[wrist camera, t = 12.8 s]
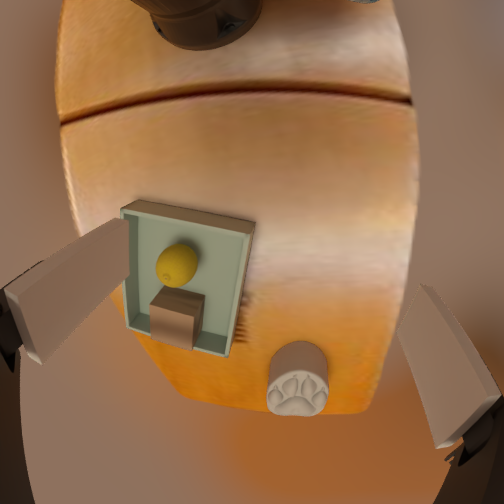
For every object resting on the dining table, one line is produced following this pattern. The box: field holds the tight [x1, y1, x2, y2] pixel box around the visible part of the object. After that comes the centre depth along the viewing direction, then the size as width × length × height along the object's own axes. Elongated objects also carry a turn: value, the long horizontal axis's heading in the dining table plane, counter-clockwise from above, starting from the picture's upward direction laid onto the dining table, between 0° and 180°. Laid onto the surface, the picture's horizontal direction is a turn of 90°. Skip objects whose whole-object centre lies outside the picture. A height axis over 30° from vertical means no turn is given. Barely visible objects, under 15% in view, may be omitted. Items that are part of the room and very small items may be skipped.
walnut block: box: [149, 285, 205, 351], centre depth 43 cm, size 7×7×6 cm
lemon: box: [155, 244, 198, 288], centre depth 38 cm, size 6×6×8 cm
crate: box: [120, 200, 256, 358], centre depth 41 cm, size 21×18×5 cm
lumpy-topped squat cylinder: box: [266, 341, 329, 416], centre depth 44 cm, size 10×13×9 cm
